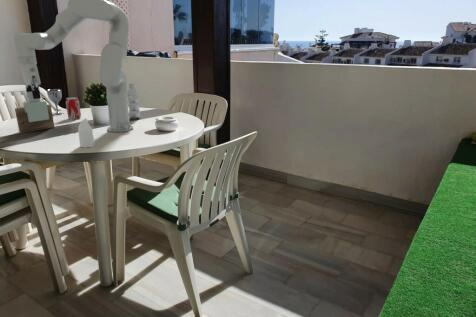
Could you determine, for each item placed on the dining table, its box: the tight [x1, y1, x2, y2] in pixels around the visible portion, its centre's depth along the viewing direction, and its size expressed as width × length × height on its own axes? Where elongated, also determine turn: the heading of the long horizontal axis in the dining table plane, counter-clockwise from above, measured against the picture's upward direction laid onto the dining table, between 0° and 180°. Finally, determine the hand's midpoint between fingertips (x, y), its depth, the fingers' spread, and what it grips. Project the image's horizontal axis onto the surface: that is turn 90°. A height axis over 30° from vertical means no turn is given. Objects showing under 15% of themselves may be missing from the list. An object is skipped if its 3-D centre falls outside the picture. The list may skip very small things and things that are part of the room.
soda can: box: [65, 96, 82, 120], centre depth 206 cm, size 7×7×12 cm
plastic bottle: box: [127, 83, 141, 120], centre depth 205 cm, size 6×7×20 cm
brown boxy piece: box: [14, 103, 56, 134], centre depth 180 cm, size 11×16×12 cm
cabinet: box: [22, 92, 49, 122], centre depth 174 cm, size 5×9×14 cm, turn 136°
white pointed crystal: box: [77, 118, 95, 149], centre depth 151 cm, size 6×12×6 cm
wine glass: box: [46, 88, 65, 116], centre depth 218 cm, size 8×8×15 cm
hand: (34, 97), depth 173 cm, fingers open, 8 cm apart
